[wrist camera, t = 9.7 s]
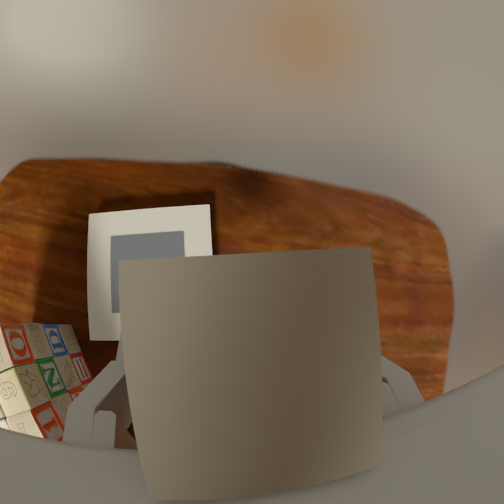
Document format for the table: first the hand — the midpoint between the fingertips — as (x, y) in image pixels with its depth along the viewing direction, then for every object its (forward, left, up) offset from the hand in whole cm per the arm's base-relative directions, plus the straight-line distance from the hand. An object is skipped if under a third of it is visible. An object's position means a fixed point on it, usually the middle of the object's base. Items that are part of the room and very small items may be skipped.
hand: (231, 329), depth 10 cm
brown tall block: (0, -1, -6) cm, 6 cm away
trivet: (-6, +5, -19) cm, 20 cm away
